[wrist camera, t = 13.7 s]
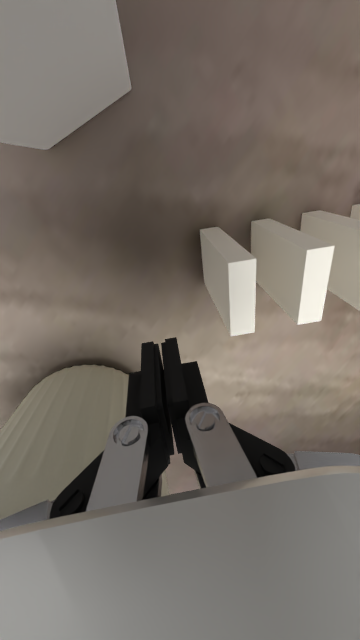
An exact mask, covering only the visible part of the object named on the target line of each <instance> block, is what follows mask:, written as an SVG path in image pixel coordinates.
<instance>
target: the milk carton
mask: <svg viewBox="0 0 360 640" xmlns="http://www.w3.org/2000/svg"><path fill="white" fill-rule="evenodd" d="M131 88H132V87H131V82H130V76H129V71H128V65H127V60H126V54H125V49H124V43H123V38H122V32H121V27H120V21H119V16H118V10H117V5H116V0H0V143H5V144H12V145H18V146H24V147H30V148H36V149H42V150H48V149H50V148H51V147H53V146H54V145H55V144H57V143H58V142H59V141H61V140H62V139H64V138H65V137H66V136H68V135H69V134H71V133H72V132H73V131H75V130H76V129H78V128H79V127H80V126H82V125H83V124H84V123H86V122H87V121H89V120H90V119H91V118H93V117H94V116H96V115H97V114H98V113H100V112H101V111H102V110H104V109H105V108H107V107H108V106H109V105H111V104H112V103H114V102H115V101H116V100H118V99H119V98H120V97H122V96H123V95H125V94H126V93H127V92H129V91H130V90H131Z"/></svg>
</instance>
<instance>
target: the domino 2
mask: <svg viewBox="0 0 360 640" xmlns="http://www.w3.org/2000/svg"><path fill="white" fill-rule="evenodd" d="M334 247H335V246H334V245H332V244H330V243H327V242H325V241H322V240H320V239H318V238H315V237H313V236H310V235H308V234H306V233H303V232H301V231H298V230H296V229H294V228H291V227H289V226H287V225H284V224H282V223H279V222H277V221H275V220H272V219H270V218H268V219H262V220H256V221H251V255H253V256H254V257H255V258H256V282H257V283H258V284H259V285H260V286H261V287H262V288H263V289H264V290H265V291H266V292H267V294H268V295H269V296H270V297H271V298H272V299H273V300H274V301H275V302H276V303H277V304H278V305H279V306H280V307H281V308H282V309H283V310H284V311H285V312H286V313H287V314H288V315H289V316H290V317H291V319H292V320H293V321H294V322H295V323H296V324H297V325H299V324H305V323H311V322H317V321H321V318H322V313H323V307H324V302H325V296H326V291H327V285H328V280H329V274H330V269H331V263H332V258H333V252H334Z"/></svg>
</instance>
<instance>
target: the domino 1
mask: <svg viewBox="0 0 360 640" xmlns="http://www.w3.org/2000/svg"><path fill="white" fill-rule="evenodd" d="M200 240H201V252H202V263H203V275H204V284H205V286H206V288H207V290H208V292H209V294H210V296H211V298H212V300H213V302H214V304H215V306H216V308H217V310H218V312H219V314H220V316H221V318H222V320H223V322H224V324H225V326H226V328H227V330H228V332H229V334H230V336H236V335H242V334H248V333H254V332H255V296H256V258H255V257H254V256H253V255H251V254H250V253H249V252H248V251H247V250H246V249H244V248H243V247H242V246H241V245H240V244H238V243H237V242H236V241H235V240H234V239H232V238H231V237H230V236H229V235H228V234H226V233H225V232H224V231H223V230H222V229H220V228H219V227H212V228H206V229H200Z"/></svg>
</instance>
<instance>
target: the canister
mask: <svg viewBox="0 0 360 640" xmlns="http://www.w3.org/2000/svg"><path fill="white" fill-rule="evenodd" d="M128 380H129V375H128V374H125V373H123V372H122V371H120V370H116V369H114V368H109V367H105V366H104V365H103V366H97V365H95V364H94V365H85V364H84V365H81V366H72V367H70V368H64V369H62V370H61V371H56V372H54V373H53V374H51V375H50V376H47V377H46V378H44V379H43V380H42V381H41V382H40V383H38V384H37V385H36V386H35V387H34V388H33V389H32V390H31V391H30V392H29V393H28V395H27V396H26V397H25V398H24V400H23V401H22V402H21V404H20V405H19V406H18V408H17V409H16V410H15V412H14V413H13V414H12V416H11V417H10V418H9V420H8V421H7V422H6V424H5V425H4V426H3V428H2V429H1V430H0V520H1V519H3V518H5V517H8V516H10V515H12V514H15V513H17V512H19V511H22V510H24V509H26V508H29V507H31V506H33V505H36V504H38V503H40V502H43V501H45V500H47V499H48V500H49V501H50V502H51V501H53V500H55V499H56V498H57V496H58V495H59V494H60V493H61V492H62V491H63V490H64V489H65V488H66V487H67V486H68V485H69V484H70V483H71V482H72V481H73V480H74V479H75V478H76V477H77V476H78V475H79V474H80V473H81V472H82V471H83V470H84V469H85V468H86V467H87V466H88V465H89V464H90V463H91V462H92V461H93V460H94V459H95V458H96V457H97V456H98V455H99V454H100V453H101V452H102V451H104V449H105V446H106V443H107V440H108V436H109V433H110V431H111V429H112V427H113V426H114V425H115V424H116V423H117V422H118V421H120V420H121V419H123V418H125V415H126V404H127V392H128ZM166 495H169V489H168V483H167V478H166V472H165V470H164V472H163V473H162V490H161V496H166Z"/></svg>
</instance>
